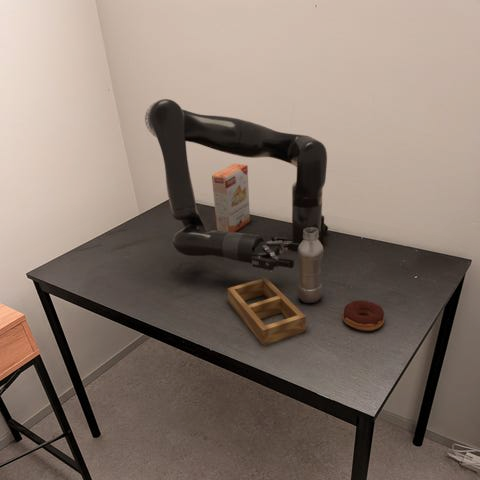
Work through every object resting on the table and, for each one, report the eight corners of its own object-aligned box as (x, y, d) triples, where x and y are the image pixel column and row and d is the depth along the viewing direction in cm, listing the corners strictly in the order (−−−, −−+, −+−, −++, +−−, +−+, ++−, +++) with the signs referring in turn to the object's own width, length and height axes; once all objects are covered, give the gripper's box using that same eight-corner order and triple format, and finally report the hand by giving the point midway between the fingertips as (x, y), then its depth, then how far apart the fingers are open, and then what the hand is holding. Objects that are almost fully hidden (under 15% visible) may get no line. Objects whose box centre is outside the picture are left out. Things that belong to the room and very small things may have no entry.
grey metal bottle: (327, 297, 122) (330, 228, 110) (312, 309, 118) (313, 238, 106) (307, 290, 125) (308, 222, 114) (292, 301, 122) (291, 232, 110)
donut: (392, 323, 110) (394, 309, 108) (363, 338, 106) (364, 325, 104) (362, 305, 117) (363, 292, 115) (333, 319, 113) (334, 306, 111)
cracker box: (231, 237, 157) (225, 177, 145) (216, 234, 160) (210, 175, 148) (251, 221, 166) (248, 164, 154) (237, 219, 169) (233, 162, 157)
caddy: (266, 291, 127) (265, 277, 124) (305, 331, 110) (305, 316, 108) (228, 302, 123) (227, 288, 121) (263, 345, 107) (262, 330, 104)
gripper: (229, 246, 115) (289, 255, 108) (252, 223, 125) (308, 231, 119) (231, 272, 119) (289, 282, 113) (254, 248, 129) (308, 256, 123)
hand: (299, 256), depth 116 cm, fingers open, 8 cm apart
